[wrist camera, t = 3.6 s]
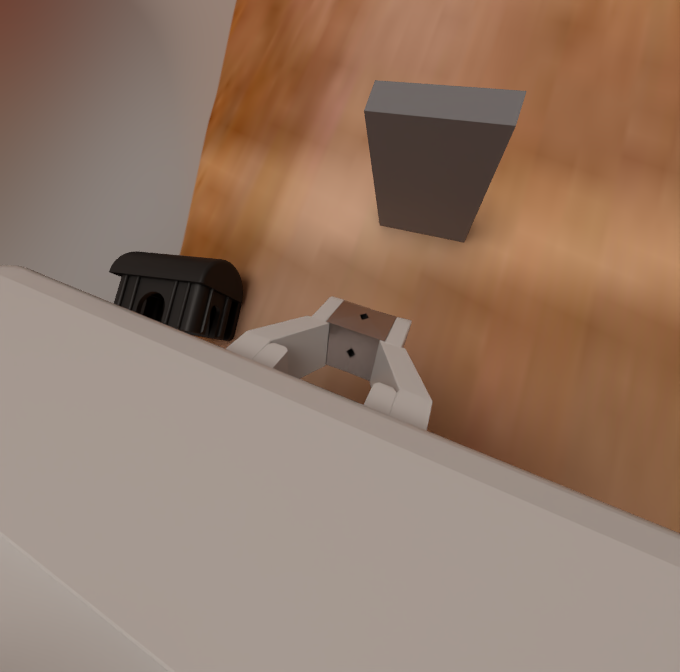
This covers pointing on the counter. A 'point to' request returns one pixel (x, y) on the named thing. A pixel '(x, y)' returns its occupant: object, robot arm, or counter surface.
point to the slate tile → (436, 152)
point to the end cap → (181, 292)
